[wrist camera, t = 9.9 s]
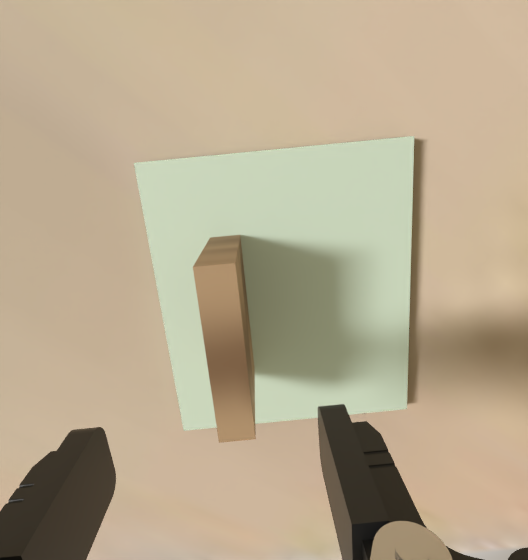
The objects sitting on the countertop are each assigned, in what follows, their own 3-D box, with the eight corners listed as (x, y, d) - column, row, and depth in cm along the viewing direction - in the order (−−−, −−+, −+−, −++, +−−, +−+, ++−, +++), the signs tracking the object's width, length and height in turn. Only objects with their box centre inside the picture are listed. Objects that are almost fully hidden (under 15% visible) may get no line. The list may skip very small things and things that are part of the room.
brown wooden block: (210, 237, 20) (192, 267, 14) (240, 234, 20) (235, 263, 14) (227, 370, 22) (219, 442, 16) (254, 368, 22) (255, 439, 16)
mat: (137, 162, 19) (133, 163, 18) (409, 136, 19) (414, 136, 18) (185, 424, 24) (183, 430, 23) (403, 403, 24) (406, 409, 23)
